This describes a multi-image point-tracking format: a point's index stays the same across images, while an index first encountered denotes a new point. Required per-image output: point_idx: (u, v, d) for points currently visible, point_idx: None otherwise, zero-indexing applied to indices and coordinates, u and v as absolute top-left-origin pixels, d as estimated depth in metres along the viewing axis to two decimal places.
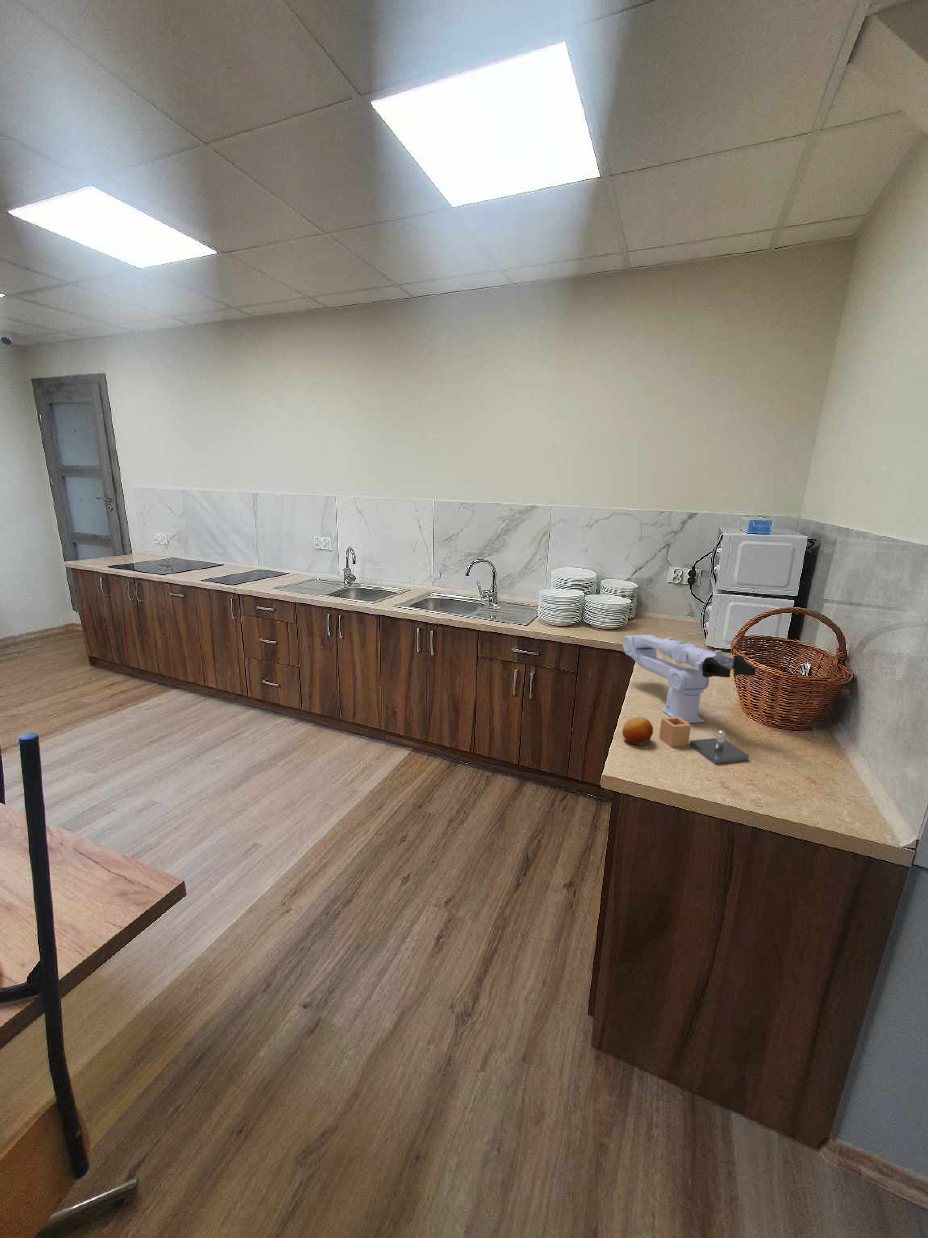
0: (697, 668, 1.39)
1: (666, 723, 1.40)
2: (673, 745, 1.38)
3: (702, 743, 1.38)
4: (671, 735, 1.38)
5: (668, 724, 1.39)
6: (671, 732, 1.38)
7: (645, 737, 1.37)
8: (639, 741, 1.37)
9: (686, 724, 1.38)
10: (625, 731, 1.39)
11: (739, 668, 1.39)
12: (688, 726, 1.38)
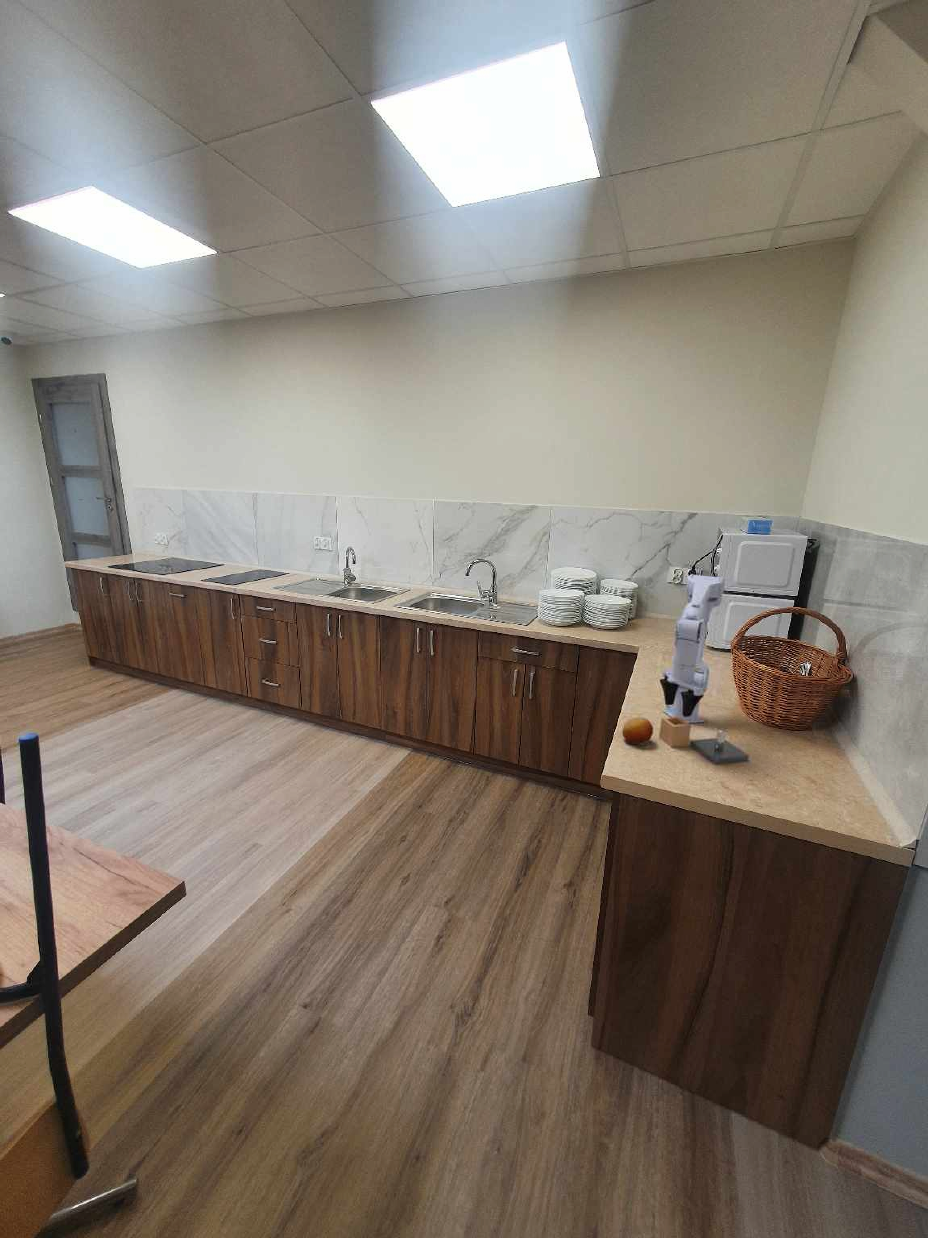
0: None
1: (666, 723, 1.40)
2: (673, 745, 1.38)
3: (702, 743, 1.38)
4: (671, 735, 1.38)
5: (668, 724, 1.39)
6: (671, 732, 1.38)
7: (646, 738, 1.37)
8: (639, 741, 1.37)
9: (686, 724, 1.38)
10: (625, 731, 1.39)
11: None
12: (688, 726, 1.38)
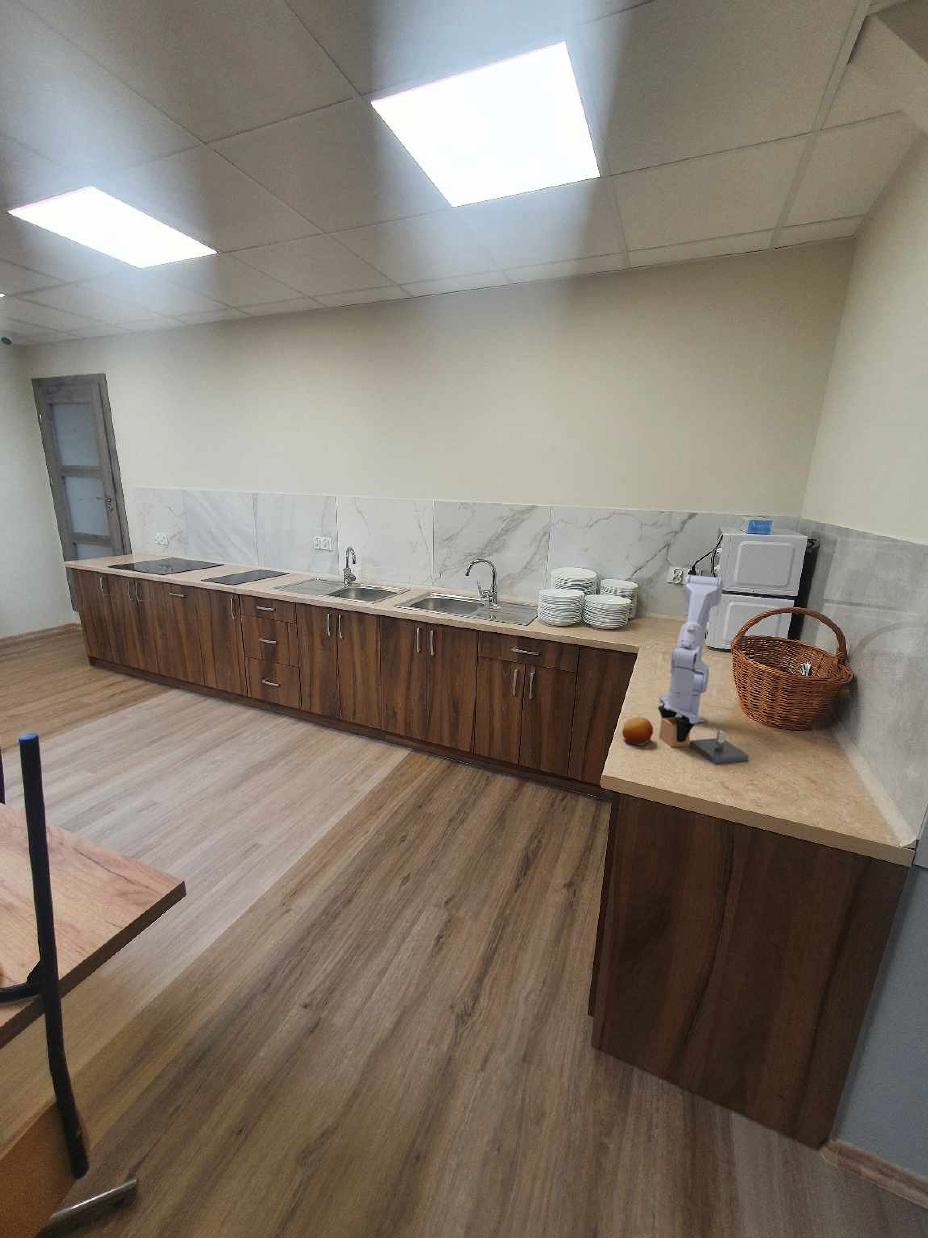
0: None
1: (666, 723, 1.40)
2: (673, 745, 1.38)
3: (702, 743, 1.38)
4: (671, 735, 1.38)
5: (668, 724, 1.39)
6: (671, 732, 1.38)
7: (646, 738, 1.37)
8: (639, 741, 1.37)
9: None
10: (625, 731, 1.39)
11: None
12: None
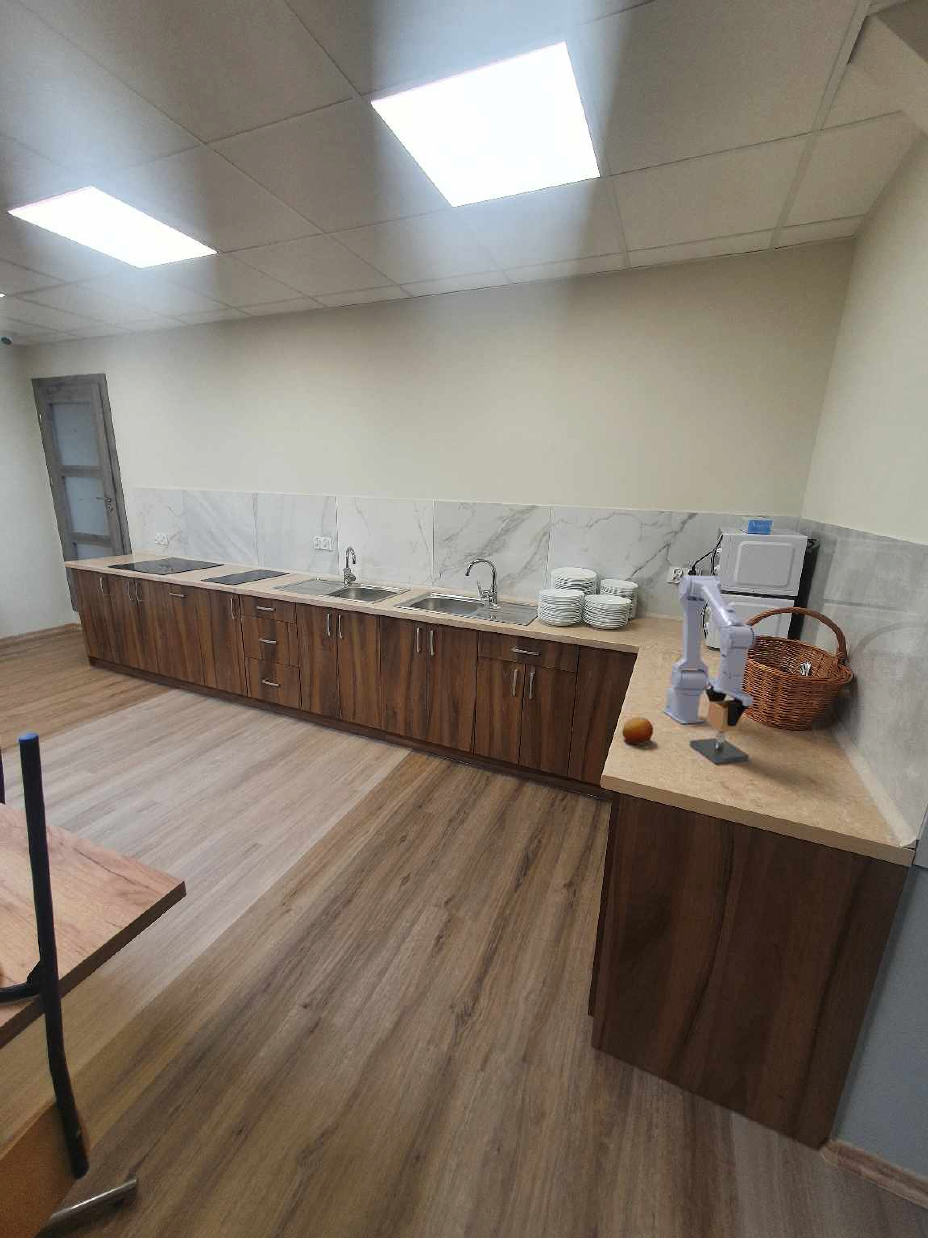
0: None
1: (715, 707, 1.32)
2: (723, 730, 1.31)
3: (702, 743, 1.38)
4: (721, 719, 1.30)
5: (717, 708, 1.31)
6: (721, 716, 1.30)
7: (646, 737, 1.37)
8: (639, 741, 1.37)
9: None
10: (625, 731, 1.39)
11: None
12: None
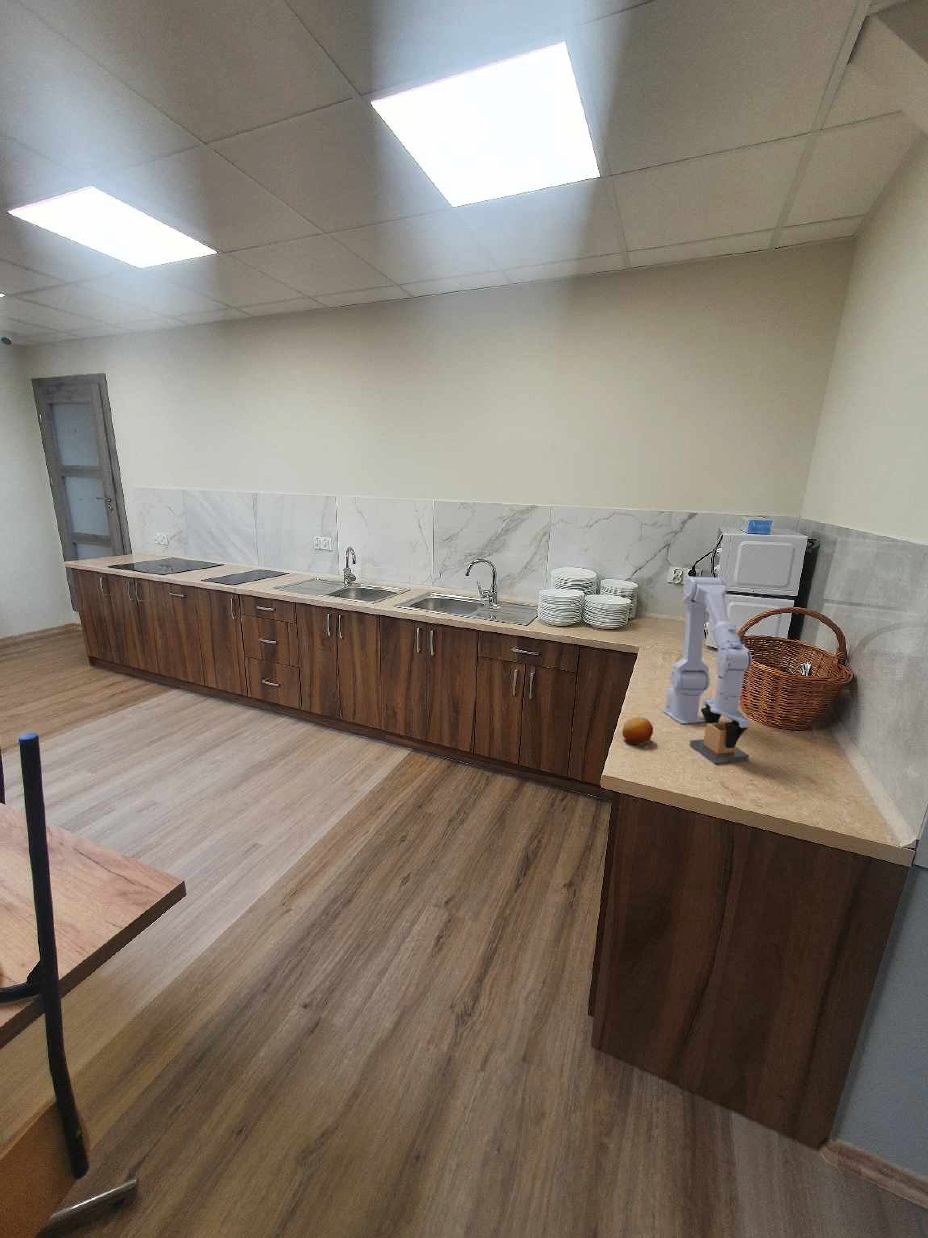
0: None
1: (712, 729, 1.34)
2: (720, 752, 1.32)
3: (702, 743, 1.38)
4: (718, 742, 1.32)
5: (714, 730, 1.33)
6: (718, 738, 1.32)
7: (645, 738, 1.37)
8: (639, 741, 1.37)
9: None
10: (625, 731, 1.39)
11: None
12: None
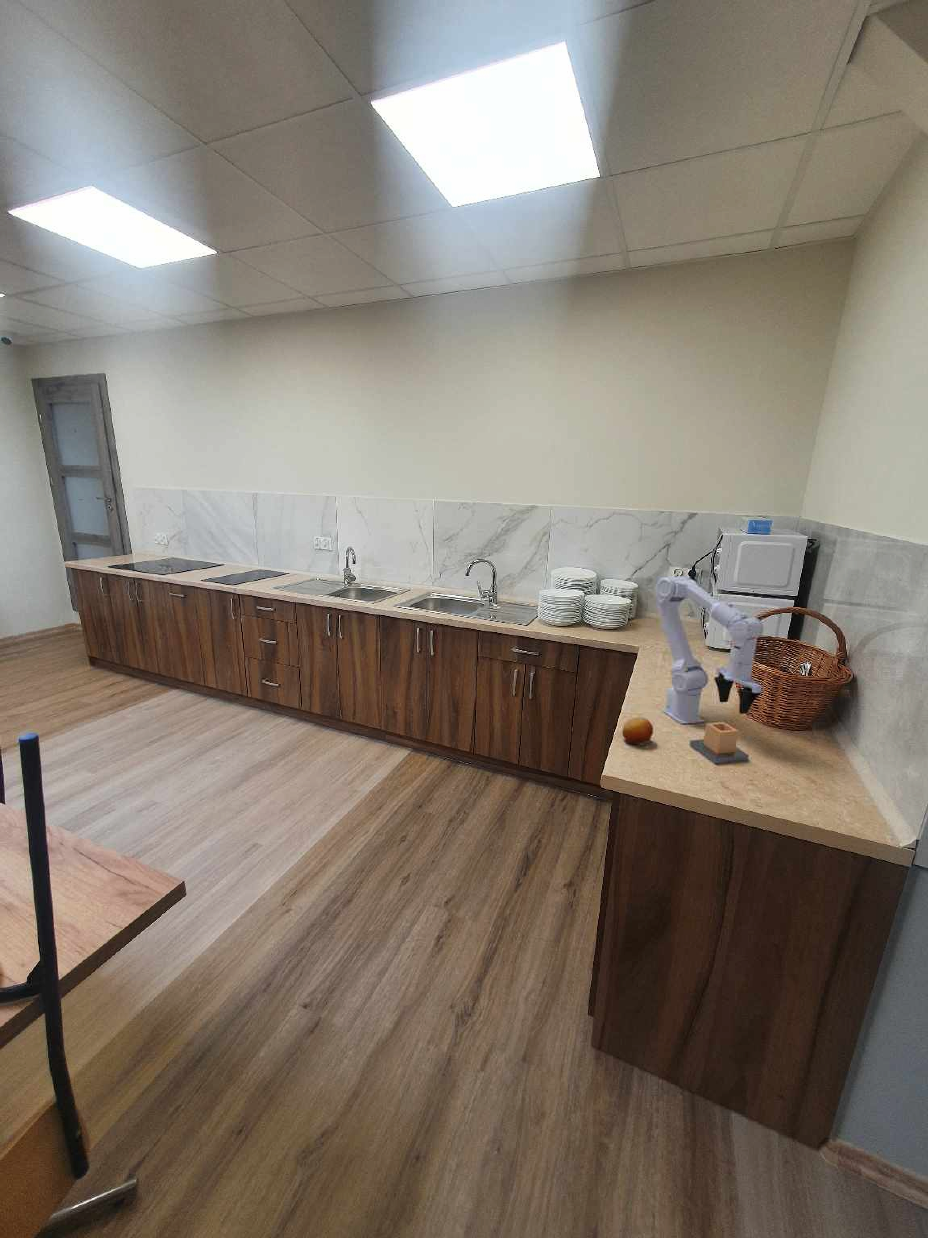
0: None
1: (712, 729, 1.34)
2: (720, 752, 1.32)
3: (702, 743, 1.38)
4: (718, 742, 1.32)
5: (714, 730, 1.33)
6: (718, 738, 1.32)
7: (646, 738, 1.37)
8: (639, 741, 1.37)
9: (733, 730, 1.32)
10: (625, 731, 1.39)
11: None
12: (735, 732, 1.32)
